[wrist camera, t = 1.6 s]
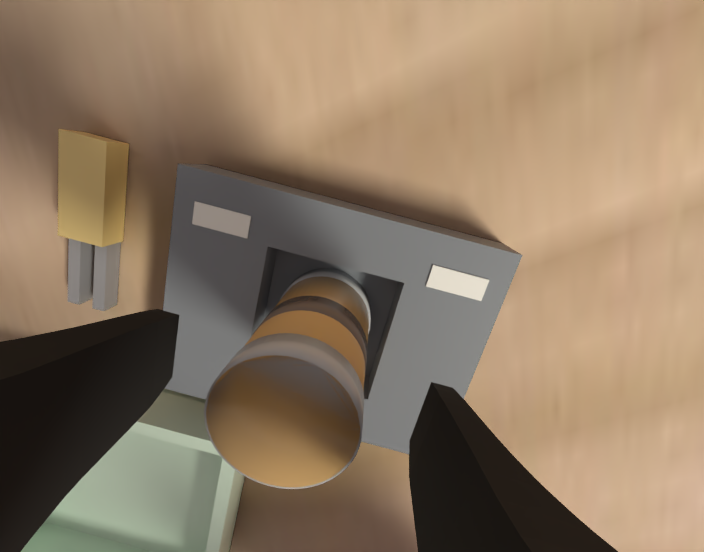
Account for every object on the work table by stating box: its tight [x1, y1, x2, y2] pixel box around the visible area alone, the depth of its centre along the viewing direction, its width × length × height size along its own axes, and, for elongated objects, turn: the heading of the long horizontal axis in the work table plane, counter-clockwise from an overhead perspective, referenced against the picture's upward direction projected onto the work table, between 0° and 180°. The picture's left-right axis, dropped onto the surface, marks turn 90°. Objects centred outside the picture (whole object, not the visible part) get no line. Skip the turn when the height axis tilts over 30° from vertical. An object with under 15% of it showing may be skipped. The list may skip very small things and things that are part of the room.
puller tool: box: [58, 129, 129, 311], centre depth 15 cm, size 7×2×1 cm, turn 166°
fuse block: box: [163, 164, 522, 454], centre depth 14 cm, size 12×9×2 cm
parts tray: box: [21, 388, 245, 552], centre depth 18 cm, size 11×11×2 cm
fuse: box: [204, 268, 371, 489], centre depth 12 cm, size 4×4×7 cm
